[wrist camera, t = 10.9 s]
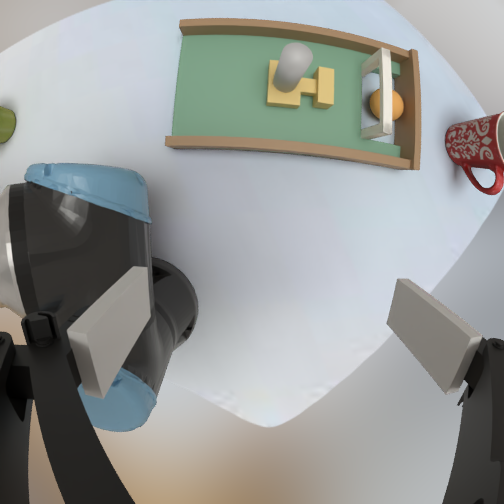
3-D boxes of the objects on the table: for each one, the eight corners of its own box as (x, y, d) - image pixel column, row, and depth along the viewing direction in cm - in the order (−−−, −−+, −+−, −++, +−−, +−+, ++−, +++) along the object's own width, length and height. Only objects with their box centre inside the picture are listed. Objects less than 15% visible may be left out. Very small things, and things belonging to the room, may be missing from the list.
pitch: (174, 148, 37) (155, 142, 29) (186, 34, 33) (174, 5, 24) (398, 169, 39) (432, 170, 30) (398, 62, 34) (428, 44, 25)
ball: (393, 131, 36) (368, 123, 35) (383, 105, 37) (359, 96, 36) (415, 113, 32) (390, 103, 30) (403, 87, 33) (378, 76, 31)
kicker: (266, 105, 34) (275, 79, 23) (268, 65, 32) (277, 28, 22) (327, 112, 34) (356, 92, 24) (327, 72, 33) (356, 41, 22)
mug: (445, 109, 36) (499, 98, 23) (479, 134, 37) (531, 132, 24) (430, 176, 39) (487, 181, 26) (465, 197, 40) (519, 209, 27)
